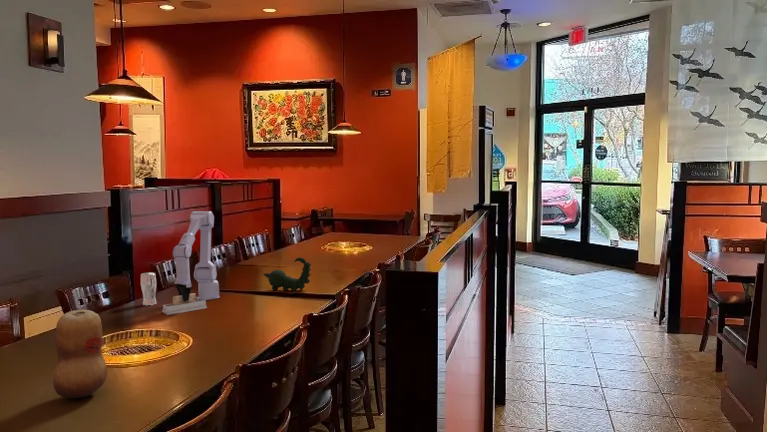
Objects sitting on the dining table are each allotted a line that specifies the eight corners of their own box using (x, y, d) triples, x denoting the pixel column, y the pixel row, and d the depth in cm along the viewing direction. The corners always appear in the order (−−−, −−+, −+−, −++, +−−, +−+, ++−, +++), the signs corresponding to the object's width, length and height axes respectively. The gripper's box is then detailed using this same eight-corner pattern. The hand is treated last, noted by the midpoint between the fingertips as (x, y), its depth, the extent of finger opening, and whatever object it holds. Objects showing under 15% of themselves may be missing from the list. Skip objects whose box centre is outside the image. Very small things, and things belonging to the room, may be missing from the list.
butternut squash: (78, 409, 149) (71, 320, 147) (43, 402, 154) (37, 316, 152) (119, 390, 162) (114, 307, 160) (86, 384, 167) (81, 304, 165)
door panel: (194, 305, 256) (194, 293, 255) (196, 306, 254) (195, 293, 254) (173, 309, 249) (172, 296, 249) (174, 310, 248) (173, 297, 248)
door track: (201, 305, 260) (200, 298, 260) (206, 308, 255) (206, 300, 255) (162, 312, 249) (162, 304, 249) (167, 315, 244) (167, 307, 243)
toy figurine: (310, 291, 293) (265, 287, 294) (312, 256, 291) (267, 252, 293) (306, 295, 283) (259, 291, 285) (308, 260, 281) (261, 255, 283)
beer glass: (160, 302, 267) (158, 272, 266) (152, 306, 260) (151, 275, 259) (146, 302, 268) (144, 272, 266) (139, 305, 261) (137, 275, 260)
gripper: (168, 270, 253) (170, 298, 255) (179, 274, 242) (181, 304, 243) (184, 268, 258) (185, 296, 259) (195, 272, 247) (196, 302, 248)
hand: (184, 300), depth 252 cm, fingers open, 3 cm apart
